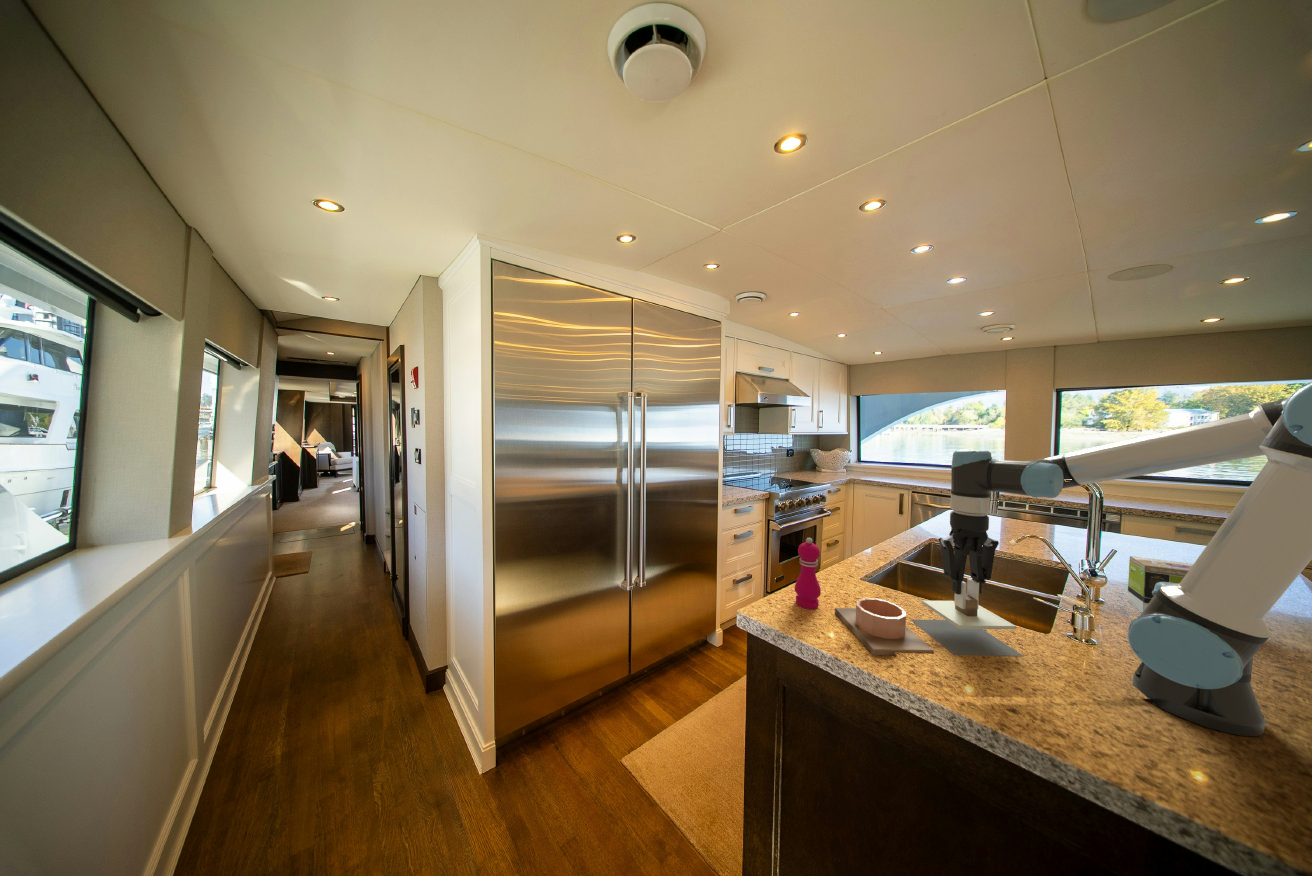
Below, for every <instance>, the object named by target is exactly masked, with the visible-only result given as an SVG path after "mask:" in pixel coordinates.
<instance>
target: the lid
mask: <svg viewBox="0 0 1312 876" xmlns="http://www.w3.org/2000/svg"><path fill="white" fill-rule="evenodd" d="M921 604H922V605H924V606H925V607H927V608H928V610H931V611H932V612H934V613H935V614H937V615H938V616H940V617H941V618H942V619H943V620H947V621H949V622H950V623H951V624H953V625H954V626H956V627H957V628H959V629H983V630H1017V629H1016V628H1017V625H1015V624H1013V623H1011V622H1010V621H1007V620H1006V619H1004V618H1002V617H1000V616H999V615H997V614H995V613H993V612H992V611H991V610H988V609H987V608H984V607H983V606H981V605H979V604H978V600H977V599H975V598H973V597H971V596H969V595H967V593H966V609H962V608H960V607H958V606H957V605H955V604H954V600H921Z"/></svg>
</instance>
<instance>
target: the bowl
mask: <svg viewBox="0 0 1312 876" xmlns="http://www.w3.org/2000/svg"><path fill="white" fill-rule="evenodd" d="M855 608H856V625H857V626H858V627H859V628H860V629H861V630H863V631H865V632H867V633H869V634H871V635H874V636H878V637H882V638H886V639H899V638H901V637H903V636H905V627H907V626H906V625H907V624H906V623H907V611H906V610H905V609H904V608H902V607H901V606H900V605H898V604H896V603H893V602H891V601H888V600H884V599H881V598H876V597H875V598H874V597H872V598H871V597H862V598H860V599H857V600H856V604H855Z"/></svg>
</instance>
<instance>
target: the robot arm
mask: <svg viewBox="0 0 1312 876" xmlns="http://www.w3.org/2000/svg"><path fill="white" fill-rule="evenodd" d="M1260 456H1261V457H1262V456H1265V457H1266V458H1267V462H1266V463H1265V464H1264V466H1263V467H1262V468H1261V469H1260V471H1259V473H1258V474H1257V475H1256V476H1255V478H1254V480H1253V481H1252V482H1251V484H1250V485H1249V487H1248V488H1247V489H1246V491H1245V492H1244V493H1243V495H1242V496H1241V498H1240V499H1239V500H1238V502H1237V503H1236V505H1235V506H1234V507H1233V509H1232V510H1231V512H1230V513H1229V514H1228V516H1227V517H1226V519H1225V520H1224V521H1223V523H1222V524H1221V525H1220V527H1219V528H1218V530H1216V532H1215V534H1214V535H1213V537H1212V538H1211V539H1210V541H1209V542H1208V543H1207V544H1206V546H1205V548H1204V549H1203V550H1202V551H1201V553H1200V554H1199V556H1198V557H1197V559H1195V562H1194V563H1192V564H1193V566H1192V567H1191V568H1190V570H1189V571H1188V573H1187V574H1186V575H1185V577H1184V578H1183V580H1182V581H1181V582H1180V583H1179V584H1177V583H1170V582H1158V583H1156V584H1155V587H1154V591H1152V594H1153V595H1154V597H1153V598H1152V599H1151V601H1150V602H1149V604H1148V605H1147V606H1146V608H1145V609H1144V611H1143V612H1142V613H1140V615H1139V616H1137V617H1136V618H1134V619H1133V620H1131V622H1130V624H1129V626H1128V631H1127V640H1128V643H1129V646H1130V648H1131V649H1132V651H1133V652H1134V653H1135V656H1136V657H1137V658H1138V659H1139V660H1140V662H1141V663H1140V664H1139V666H1138V667H1137V668H1136V670H1135V671H1134V672H1133V678H1132V686H1133V687H1135V688H1136V689H1138V691H1140V692H1141V693H1142V694H1143V695H1145V696H1146V697H1147V698H1145V700H1147V701H1148V702H1149V703H1151V704H1153V705H1154V706H1156V707H1158V708H1160V709H1162V710H1164V711H1166V712H1168V713H1171V714H1172V715H1175V716H1177V717H1179V718H1180V719H1184V720H1186V721H1188V722H1191V723H1194V724H1197V725H1200V726H1202V727H1206V728H1209V729H1211V730H1214V731H1218V732H1219V731H1220V732H1223V733H1226V734H1232V735H1236V736H1244V737H1258V736H1262V735H1263V734H1264V733H1265V727H1266V718H1265V716H1264V714H1263V713H1262V710H1261V707H1260V705H1259V702H1258V699H1257V696H1256V694H1255V692H1254V689H1253V687H1252V684H1251V683H1252V673H1253V663H1254V656H1255V655H1256V653H1258V651H1259V650H1260V649H1261V648H1262V646H1263V645H1264V644H1265V643H1266V642H1267V640H1269V638H1270V637H1271V636H1272V632H1271V631H1270V629H1269V628H1268V626H1267V624H1266V623H1265V621H1264V618H1265V616H1266V615H1267V614H1268V613H1269V611H1271V609H1272V608H1273V606H1275V604H1276V603H1277V602H1278V601H1279V600H1280V598H1282V596H1283V595H1284V594H1285V593H1286V591H1288V589H1289V588H1290V587H1291V585H1292V584H1293V583H1294V581H1295V580H1296V579H1298V577H1299V576H1300V575H1301V573H1302V572H1303V571H1304V570H1305V568H1306V567H1307V566H1308V564H1309V563H1311V561H1312V380H1311V381H1310V382H1308V383H1306V384H1304V385H1302V386H1300V388H1298V390H1297V389H1296V391H1293V392H1292V393H1291V395H1289V396H1287V398H1286V397H1285V398H1282V399H1278V400H1275V401H1269V402H1265V403H1262V404H1257V406H1255V407H1254V408H1253V410H1252V411H1250V412H1248V413H1244V414H1239V415H1236V416H1230V417H1226V418H1221V419H1217V420H1212V421H1208V422H1203V423H1199V424H1198V423H1197V424H1195V425H1189V426H1185V427H1180V428H1176V429H1171V430H1167V431H1163V432H1162V431H1161V432H1159V433H1153V434H1148V435H1144V436H1140V437H1135V438H1131V439H1126V440H1121V441H1118V442H1113V443H1109V444H1105V445H1100V446H1095V447H1090V448H1086V449H1082V450H1078V451H1073V452H1068V453H1065V454H1064V453H1063V454H1059V455H1058V454H1057V455H1054V456H1050V457H1046V458H1039V459H1034V460H1025V461H1024V460H1003V459H1001V460H999V459H996V458H995V459H993V457H992V452H991V451H989V450H981V449H957V450H955V451H953V453H952V458H951V459H952V460H951V466H950V470H951V475H950V476H951V481H950V485H951V488H950V509H951V510H952V511H950V514H949V525H950V528H951V530H950V531H949V534H948V536H946V537H939V538H938V542H939V545H940V547H941V556H942V566H943V575H944V576H945V577H947V578H949V579H951V580H952V581H951V584H952V586H951V590H952V593H954V597H953V598H954V600H953V601H954V604H955V605H957V606H958V607H960V608H962V609H966V594H967V595H969V596H971V597H973V598H975V599H977V600H978V605H979V602H980V601H979V598H980V597H979V596H980V595H981V594H982V587H983V586H982V584H983V585H984V584H986V582H987V580H988V581H989V580H991V578H992V571H993V567H994V560H995V553H996V550H997V548H998V546H999V544H1000V543H999V541H998V540H996V539H993V538H991V537H989V534H988V533H987V531H988V530H989V528H990V516H989V515H988V514H989V513H990V507H991V506H990V504H991V501H990V498H991V492H996V493H1005V494H1013V495H1020V496H1029V497H1031V498H1044V499H1045V498H1047V499H1053V498H1057V497H1058V496H1059V495H1060V494H1061V493H1062V490H1063V489H1068V488H1074V487H1079V486H1085V485H1092V484H1096V483H1103V482H1110V481H1115V480H1120V479H1127V478H1128V479H1129V478H1133V477H1140V476H1146V475H1150V474H1151V475H1153V474H1157V473H1163V472H1169V471H1171V472H1172V471H1174V470H1175V471H1176V470H1181V469H1188V468H1193V467H1200V466H1206V465H1213V464H1219V463H1223V462H1230V461H1237V460H1242V459H1250V458H1254V457H1260ZM1064 479H1072V480H1066V481H1070V482H1065V481H1064ZM967 558H968V560H969V561H968V562H969V571H970V578H967V581H966V582H965V581H964V578H965V571H966V565H967Z"/></svg>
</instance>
